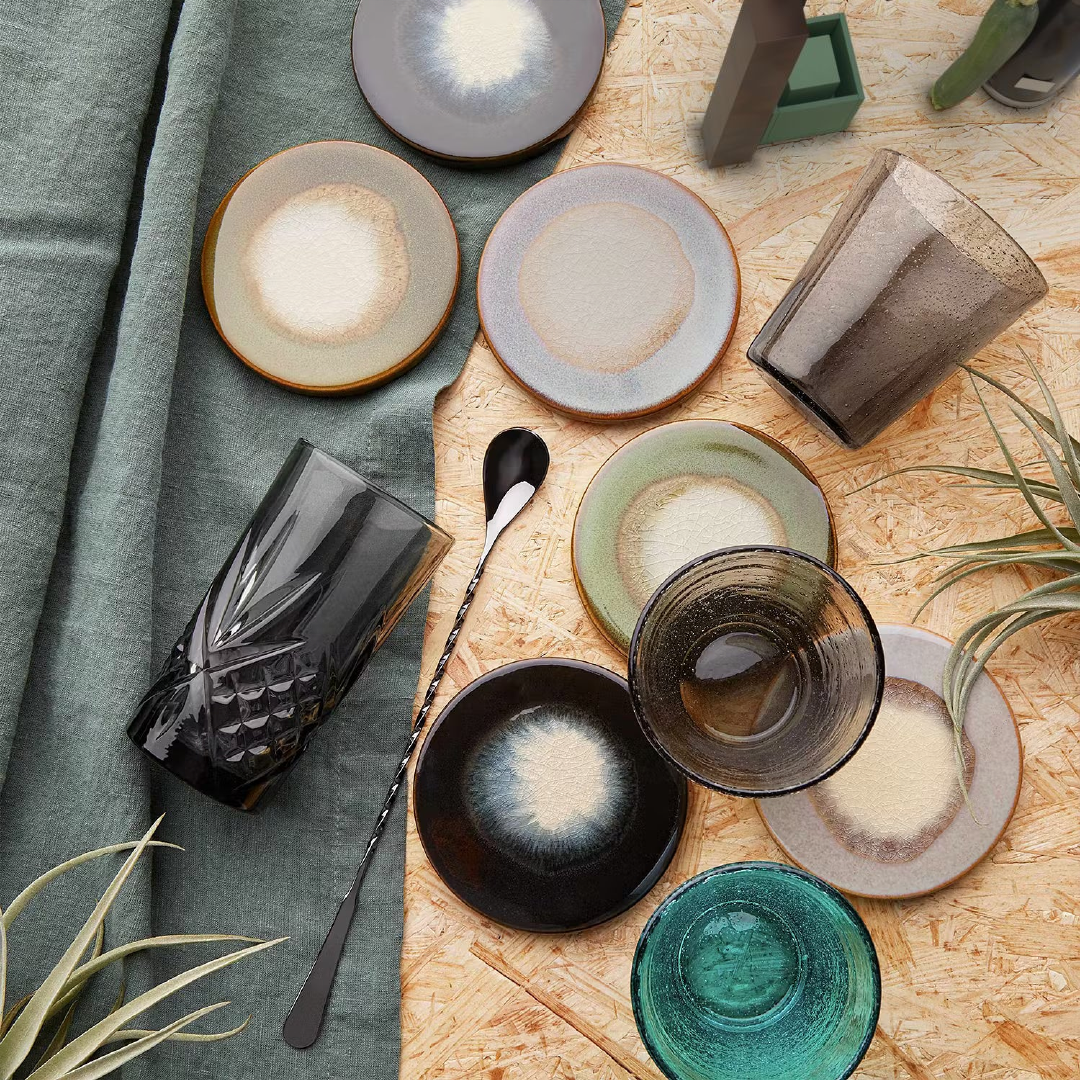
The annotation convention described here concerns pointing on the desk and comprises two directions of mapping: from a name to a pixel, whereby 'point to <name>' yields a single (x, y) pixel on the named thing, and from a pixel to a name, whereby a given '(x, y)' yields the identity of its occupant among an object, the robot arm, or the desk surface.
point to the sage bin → (830, 111)
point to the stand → (752, 78)
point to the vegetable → (986, 50)
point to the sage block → (812, 74)
